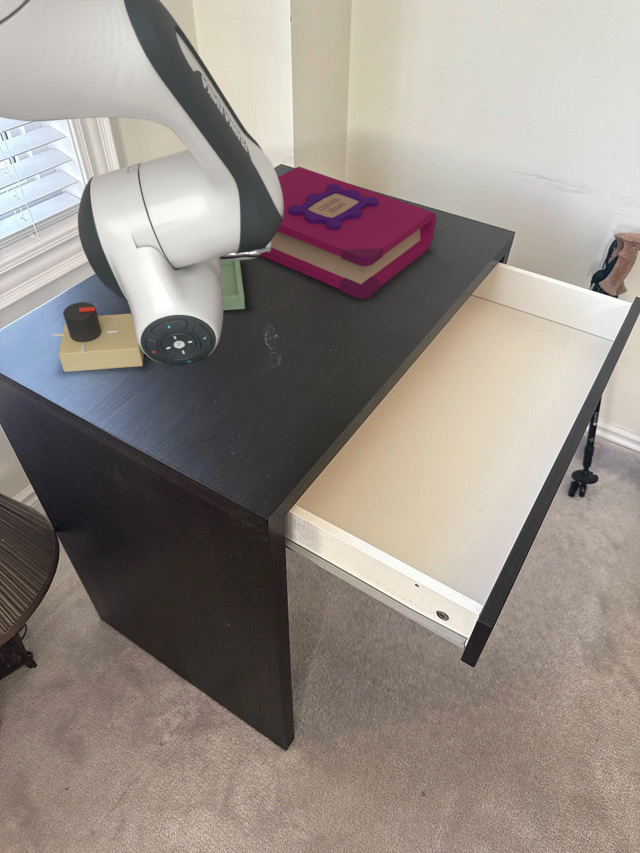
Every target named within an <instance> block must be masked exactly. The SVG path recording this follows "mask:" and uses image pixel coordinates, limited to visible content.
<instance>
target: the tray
mask: <svg viewBox="0 0 640 853" xmlns="http://www.w3.org/2000/svg"><path fill="white" fill-rule="evenodd" d="M220 262H221V282H220V283H221V286H222V291H223V311H233V310H245V309H246V304H245V302H246V301H245V292H244V285H243V284H244V283H243V276H242V269H241V260H234V261H220Z"/></svg>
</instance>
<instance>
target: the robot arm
mask: <svg viewBox="0 0 640 853" xmlns="http://www.w3.org/2000/svg"><path fill="white" fill-rule="evenodd" d="M0 118H3V119H7V120H14V121H23V122H52V121H63V120H65V121H66V120H79V119H96V118H97V119H98V118H99V119H100V118H102V119H103V118H105V119H106V118H116V119H117V118H119V119H120V118H122V119H136V120H145V121H149V122H153V123H157V124H159V125H161V126H164V127H167V128H168V129H169V130H171V132H173V133H174V134H175V135H176V137H177V139H178V140H180V142H181V143H182V144H183V145H184V147H185V148H186V149H185V150H181V151H178V152H173V153H171V154H167V155H165V156H161V157H157V158H154V159H150V160H147V161H143V162H137V163H134V164H131V165H128V166H125V167H120V168H117V169H114V170H111V171H108V172H105V173H101V174H99V175H96V176H92V177H90V179H89V180H88V181H87V183H86V185H85V186H84V188H83V191H82V194H81V197H80V200H79V206H78V211H77V228H78V229H77V231H78V236H79V240H80V241H79V242H80V244H81V248H82V251H83V253H84V254H85V257H86V259H87V262H88V263H89V265H90V267H91V269H92V271H93V272H94V273H95V275H96V276H97V278H98V279H99V281H101V283H102V284H103V285H104V286H105V287H106V288H107V289H108V290H110V291H111V292H112V293H113V294H114V295H115V296H117V297H118V298H120V299H121V300H123V301H124V302H126V303H127V304H128V307H129V310H130V314H132V318H133V323H134V328H135V334H136V338H137V341H138V344H139V346H140V348H141V349H142V351H143V352H144V354H145V356H147V357H148V358H149V359H151V360H152V361H154V362H156V363H158V364H162V365H166V366H172V367H173V366H186V365H189V364H193V363H197V362H200V361H203V360H204V359H207V357H209V356H210V355H211V354H212V353H213V352H214V350H216V348H217V346H218V344H219V342H220V339H221V334H222V330H223V323H224V310H223V291H222V286H221V283H220V282H221V262H220V261H234V260H240V261H249V260H255V259H257V258H259V257H261V254H262V253H265V252H269V251H270V250H271V247H272V244H271V240H272V238H273V237H274V236H275V234H276V232H277V231H278V229H279V227H280V225H281V223H282V221H283V219H284V213H283V212H284V202H283V194H282V190H281V186H280V182H279V179H278V177H279V176H278V174H277V172H276V169H275V168H274V166H273V164H272V162H271V160H270V159H269V157H268V156H267V155H266V154H265V152H264V150H263V149H262V147H261V146H260V145H259V143H258V141H256V140H255V138H254V137H253V136H252V135H251V134H250V133H249V131H248V130H247V129H246V128H245V126H244V125H243V123H242V122H241V120H240V118H239V117H238V116H237V113H236V112H235V111H234V109H233V107H232V106H231V104H230V103H229V101H228V99H227V98H226V96H225V95H224V93H223V91H222V90H221V88H220V86H219V85H218V84H217V82H216V80H215V78H214V77H213V76H212V74H211V72H210V71H209V69H208V67H207V66H206V64H205V62H204V61H203V60H202V58H201V56H200V54H199V53H198V52H197V50H196V48H195V47H194V46H193V44H192V42H191V41H190V39H189V38H188V37H187V35H186V33H185V32H184V31H183V29H182V28H181V27H180V25H179V23H178V22H177V21H176V20H175V18H174V16H173V15H172V14H171V13H170V11H169V10H168V9H167V7H166V6H165V5H164V3H163V2H162V1H161V0H0Z"/></svg>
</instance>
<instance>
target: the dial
mask: <svg viewBox="0 0 640 853" xmlns="http://www.w3.org/2000/svg"><path fill="white" fill-rule="evenodd" d="M62 315H63V319H64V321H65V322H66V325H67V328H68V331H69V335H70V337H71V339H72V340H74V341H76V342H89V341H92V340H94V339H96V338H98V337H99V336H100V334H101V327H100V323H99V319H98V316H99V315H98V312H97V308H96V306H95V305H94V304H93V303H91V302H86V301H79V302H74V303H72V304H69V305H68V306H67V307H65V309H64V310H63V313H62ZM65 322H64V323H65Z"/></svg>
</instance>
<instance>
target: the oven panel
mask: <svg viewBox="0 0 640 853" xmlns="http://www.w3.org/2000/svg"><path fill="white" fill-rule="evenodd" d="M98 319H99V323H100V327H101V334H100V336H99V337H98V338H96V339H94V340H92V341H89V342H76V341H74V340H72V339H71V337H70V335H69V331H68V328H67V325H66V322H64V326H63V331H62V333H53V334H52V336H53V337H61V339H60V345H59V349H58V357H59V361H60V363H61V366H62V369H63V372H64V373H69V372H83V371H95V370H97V371H98V370H107V369H109V370H110V369H123V368H135V367H143V366H144V357H145V356H144V354H145V353H144V352H143V351H142V349H141V348H140V346H139V344H138V341H137V338H136V334H135V328H134V323H133V318H132V314H131V313H118V314H104V315H98Z"/></svg>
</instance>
